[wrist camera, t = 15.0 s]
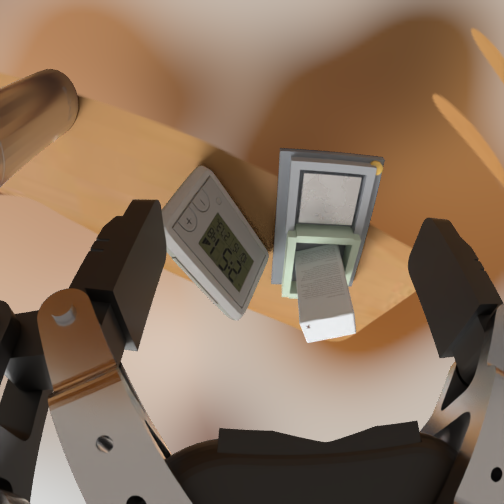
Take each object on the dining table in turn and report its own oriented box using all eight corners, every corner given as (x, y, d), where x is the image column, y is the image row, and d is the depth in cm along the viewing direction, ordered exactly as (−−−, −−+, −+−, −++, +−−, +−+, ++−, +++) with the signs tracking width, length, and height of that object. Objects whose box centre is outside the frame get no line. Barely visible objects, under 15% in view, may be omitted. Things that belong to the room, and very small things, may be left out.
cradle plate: (298, 218, 40) (298, 222, 39) (303, 169, 35) (304, 173, 35) (350, 221, 39) (351, 225, 39) (360, 174, 35) (361, 177, 35)
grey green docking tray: (271, 281, 48) (271, 297, 46) (280, 148, 35) (280, 160, 32) (350, 283, 48) (353, 299, 45) (382, 157, 34) (391, 169, 32)
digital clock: (272, 257, 45) (271, 318, 37) (212, 270, 47) (200, 329, 39) (231, 152, 36) (219, 201, 27) (162, 175, 38) (132, 226, 30)
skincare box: (300, 273, 46) (305, 344, 37) (293, 250, 43) (298, 323, 34) (342, 264, 44) (357, 334, 35) (338, 240, 42) (354, 312, 33)
